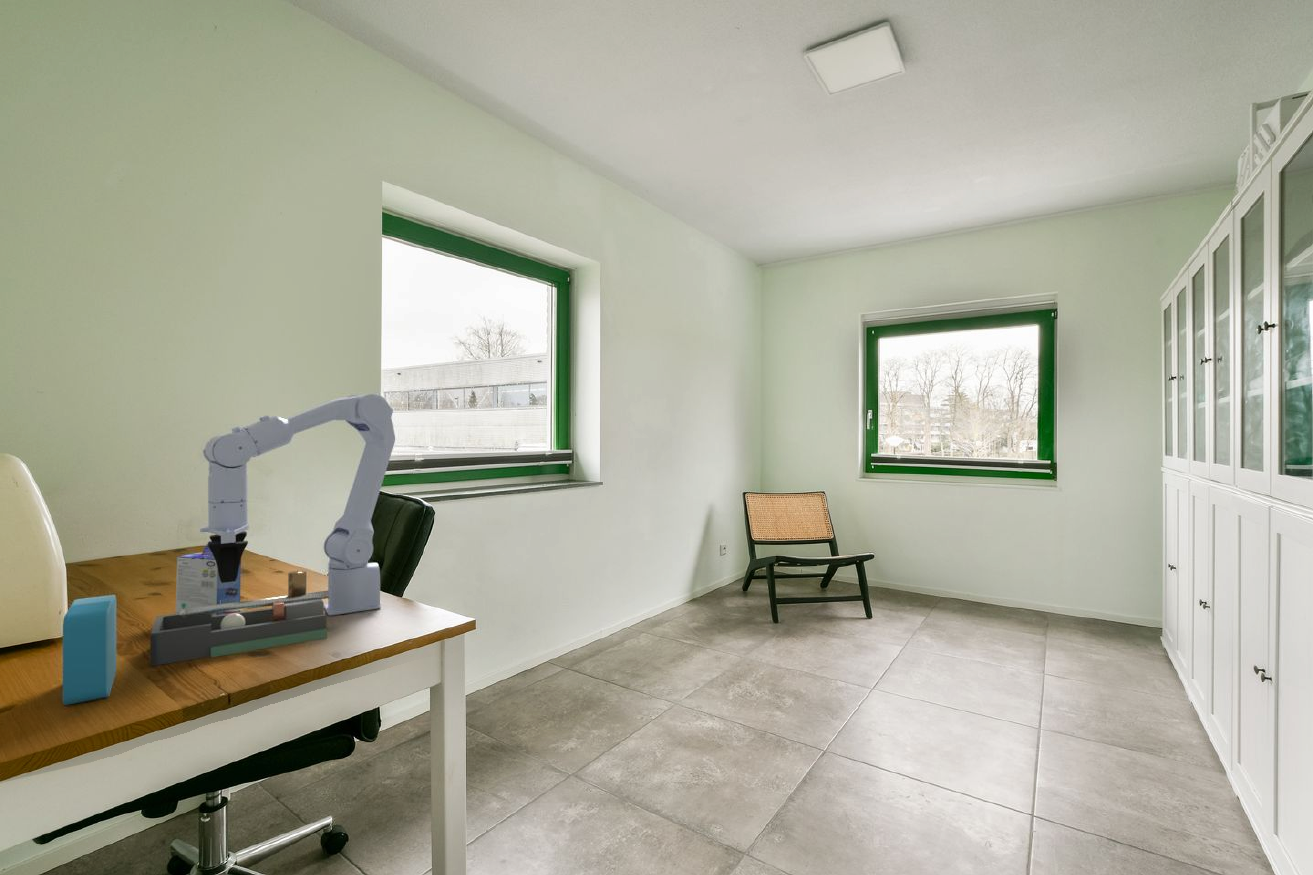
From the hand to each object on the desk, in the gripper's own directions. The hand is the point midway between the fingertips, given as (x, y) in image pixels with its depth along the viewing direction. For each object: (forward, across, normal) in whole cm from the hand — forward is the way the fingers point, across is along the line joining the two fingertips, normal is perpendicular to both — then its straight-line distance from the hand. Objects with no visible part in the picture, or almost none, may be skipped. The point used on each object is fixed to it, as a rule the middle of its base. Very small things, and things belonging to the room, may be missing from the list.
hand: (228, 577), depth 109 cm
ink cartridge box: (+10, -13, -3) cm, 17 cm away
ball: (+7, +6, +1) cm, 9 cm away
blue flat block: (+10, +18, -16) cm, 26 cm away
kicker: (+8, +6, +4) cm, 11 cm away
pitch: (+10, +6, +2) cm, 12 cm away
